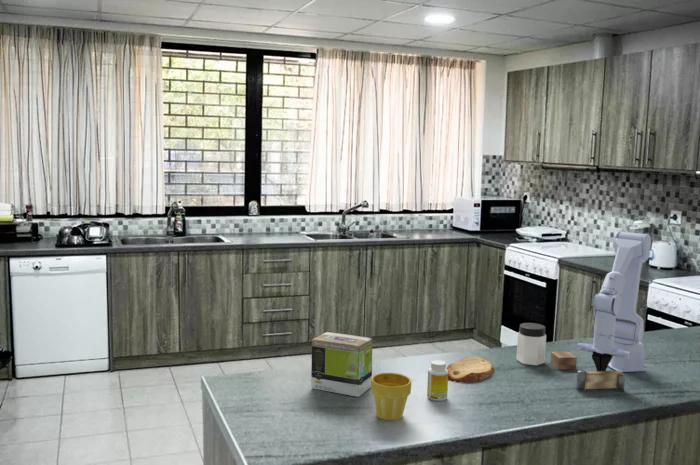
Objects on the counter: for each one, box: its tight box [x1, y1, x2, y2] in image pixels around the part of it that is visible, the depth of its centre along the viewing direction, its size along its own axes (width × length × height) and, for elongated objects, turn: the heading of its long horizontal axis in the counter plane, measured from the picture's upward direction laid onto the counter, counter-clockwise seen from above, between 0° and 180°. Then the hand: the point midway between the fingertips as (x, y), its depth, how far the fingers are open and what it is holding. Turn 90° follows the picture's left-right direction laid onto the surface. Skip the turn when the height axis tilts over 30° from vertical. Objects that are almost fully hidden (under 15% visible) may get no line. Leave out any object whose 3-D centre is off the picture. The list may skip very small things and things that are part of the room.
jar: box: [515, 322, 547, 367], centre depth 215 cm, size 9×8×12 cm
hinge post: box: [575, 369, 587, 392], centre depth 191 cm, size 2×2×6 cm
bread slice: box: [446, 356, 494, 383], centre depth 204 cm, size 18×18×4 cm
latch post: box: [616, 374, 626, 392], centre depth 191 cm, size 2×2×4 cm
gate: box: [585, 370, 624, 390], centre depth 192 cm, size 11×2×5 cm, turn 99°
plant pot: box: [370, 372, 412, 421], centre depth 169 cm, size 10×10×10 cm
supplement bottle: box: [426, 359, 449, 402], centre depth 182 cm, size 6×6×10 cm
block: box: [549, 351, 578, 370], centre depth 212 cm, size 6×6×4 cm
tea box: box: [310, 331, 373, 398], centre depth 187 cm, size 15×10×15 cm, turn 65°
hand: (600, 377), depth 197 cm, fingers closed
